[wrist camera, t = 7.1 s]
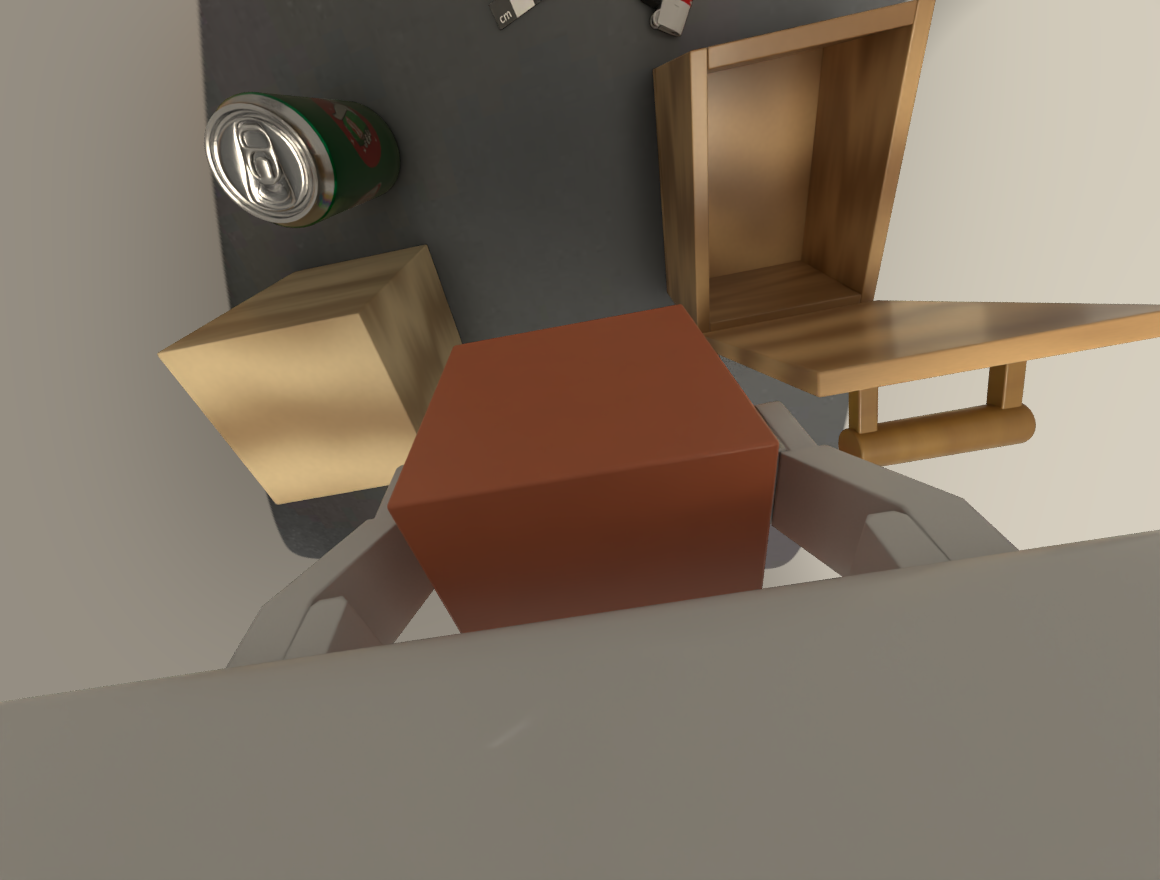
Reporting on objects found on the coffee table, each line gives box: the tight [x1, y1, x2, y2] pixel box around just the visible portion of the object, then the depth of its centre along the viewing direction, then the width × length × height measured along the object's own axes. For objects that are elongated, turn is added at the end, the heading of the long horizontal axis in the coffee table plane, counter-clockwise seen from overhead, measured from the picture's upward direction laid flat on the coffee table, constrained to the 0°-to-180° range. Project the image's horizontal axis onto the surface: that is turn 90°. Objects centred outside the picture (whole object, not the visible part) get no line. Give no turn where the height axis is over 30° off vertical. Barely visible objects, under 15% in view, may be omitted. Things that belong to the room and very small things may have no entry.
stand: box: [157, 245, 462, 504], centre depth 29 cm, size 10×10×14 cm
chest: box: [653, 0, 936, 333], centre depth 27 cm, size 14×11×9 cm
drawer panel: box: [703, 300, 1160, 466], centre depth 21 cm, size 14×11×5 cm
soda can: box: [204, 92, 400, 228], centre depth 24 cm, size 5×5×12 cm
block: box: [387, 304, 779, 633], centre depth 9 cm, size 5×5×5 cm
